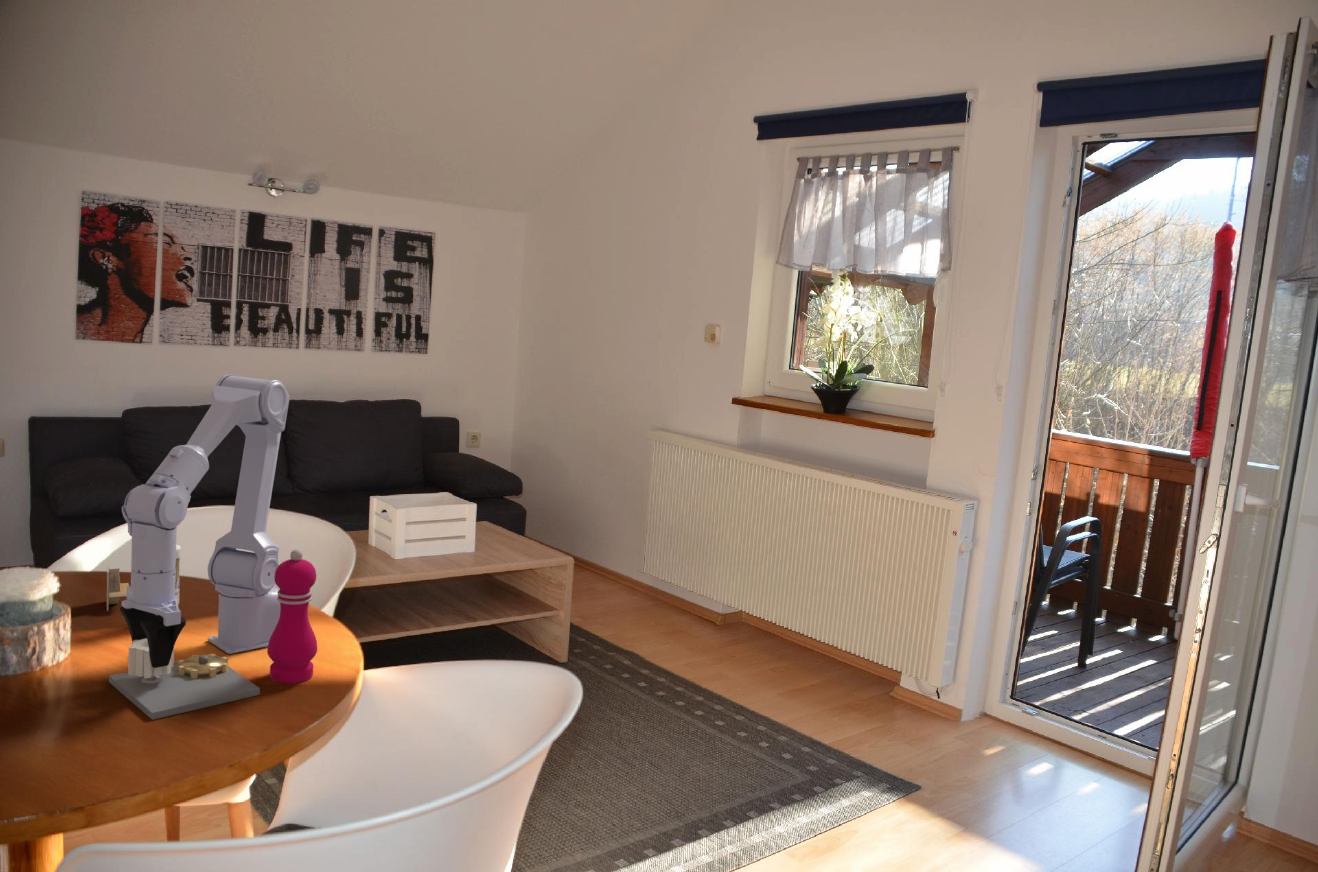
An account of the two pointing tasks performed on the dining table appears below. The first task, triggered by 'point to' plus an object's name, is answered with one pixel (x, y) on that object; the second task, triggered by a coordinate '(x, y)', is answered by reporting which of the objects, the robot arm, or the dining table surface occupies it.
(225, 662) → the gear board
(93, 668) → the dining table surface
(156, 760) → the dining table surface
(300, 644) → the pepper mill
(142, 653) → the gear
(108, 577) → the architectural model
